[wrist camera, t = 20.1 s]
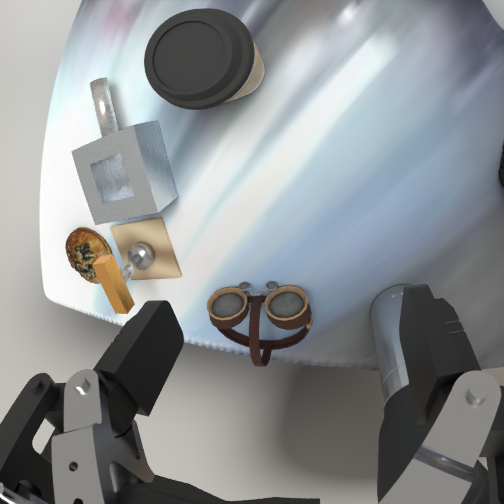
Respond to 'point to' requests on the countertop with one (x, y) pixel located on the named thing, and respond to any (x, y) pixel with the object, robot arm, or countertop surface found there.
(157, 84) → the coffee cup
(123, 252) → the cork coaster
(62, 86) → the countertop surface
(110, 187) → the block
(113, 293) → the bar
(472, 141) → the countertop surface
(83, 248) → the bread roll
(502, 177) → the power drill
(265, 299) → the goggles
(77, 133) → the countertop surface
